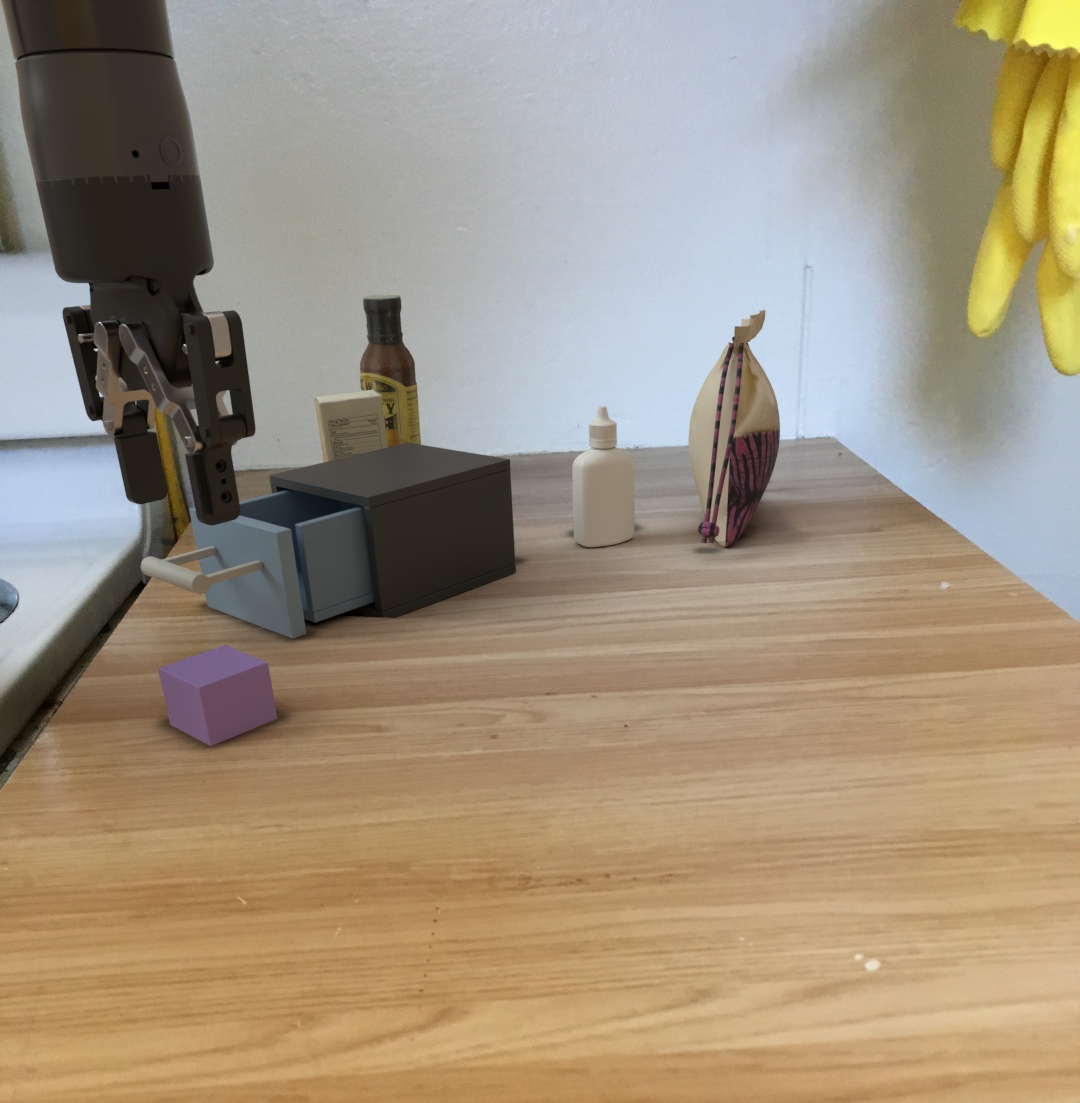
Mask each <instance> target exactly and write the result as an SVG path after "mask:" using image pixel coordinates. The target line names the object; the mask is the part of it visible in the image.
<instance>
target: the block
mask: <svg viewBox="0 0 1080 1103" xmlns="http://www.w3.org/2000/svg"><path fill="white" fill-rule="evenodd" d="M157 670H158V675H159V679H160V685H161V688H162V694H163V697H164V703H165V707H166V712H167V717H168V721H169V725H170V726H171V727H174V728H175V729H178V730H179V731H181V732H183V733H185V734H187V735H189V736H190V737H192V738H194V739H196V740H198V741H200V742H202V743H204V744H205V745H207V746H210V747H211V746H214V745H217V744H219V743H222V742H224V741H228V740H230V739H232V738H234V737H236V736H238V735H241V734H243V733H247V732H249V731H252V730H254V729H255V728H258V727H260V726H261V727H262V726H264V725H266V724H267V723H270V722H273V721H276V720H278V714H277V708H276V703H275V702H276V701H275V696H274V691H273V684H272V679H271V671H270V666H269V663H268V661H265V660H264V659H261V658H259V657H256V656H254V655H252V654H249V653H246V652H244V651H241V650H239V649H237V648H234V647H232V646H229V645H228V644H224V645H221V646H218V647H215V648H212V649H210V650H207V651H204V652H200V653H198V654H194V655H192V656H188V657H186V658H183V659H181V660H177V661H175V662H171V663H169V664H165V665H164V666H160V667H157Z"/></svg>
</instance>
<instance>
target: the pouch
mask: <svg viewBox="0 0 1080 1103" xmlns="http://www.w3.org/2000/svg"><path fill="white" fill-rule="evenodd" d="M766 313H767V312H766V309H762V310H759V313H757V314H756V313H755V314H750V315H749V318H741V324H740V326H739V325H736V326H735V325H734V333H733V335H734V336H732V337H731V341H732V342H730V341H729V342H728V343H727V344H726V346H725V347H724V348H723V350H722V352H721V354H720V356H719V358H718V359H717V361H716V362H715V363H714V365H713V366H712V368H711V370H710V371H709V373H708V374H707V376H706V378H705V379H704V381H703V383H702V385H701V387H700V389H699V391H698V393H697V396H696V398H695V401H694V403H693V407H692V410H691V414H690V419H689V427H688V454H689V455H688V456H689V462H690V464H689V465H690V469H691V473H692V474H691V475H692V479H693V482H694V484H695V485H694V486H695V489H696V490H695V491H696V493H697V496H698V500H699V503H700V506H701V509H702V511H703V514H704V521H702V522H700V523H699V524H698V528H697V532H698V533H699V535H701V536H702V537H701V544H712V545H713V544H715V542H717V544H718V545H719V546H721V547H724V548H726V547H730V546H732V545H733V544H735V543H736V542H737V541H738V540H739V538H740V537H741V535H742V534H743V533H744V532H745V529H746V528H747V526H748V524H749V522H750V521H751V519H752V517H753V515H754V513H755V512H756V510H757V508H758V506H759V504H760V502H761V501H762V498H763V496H764V494H765V492H766V489H767V488H768V485H769V483H770V480H771V478H772V476H773V472H774V469H775V466H776V463H777V458H778V454H779V448H780V440H781V422H780V420H781V419H780V411H779V406H778V404H779V403H778V400H777V396H776V393H775V391H774V388H773V386H772V384H771V381H770V379H769V377H768V376H767V374H766V371H765V370H764V368H763V367H762V365H761V364H760V362H759V361H758V359H757V357H756V356H755V355H754V353H753V351H752V349H751V348H750V345H749V343H750V342H751V341H752V340H753V339H755V338H756V337H757V336H758V334H759V333H760V332H761V331H762V330H763V326H764V323H765V320H766Z"/></svg>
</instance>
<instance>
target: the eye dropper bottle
mask: <svg viewBox="0 0 1080 1103" xmlns="http://www.w3.org/2000/svg"><path fill="white" fill-rule="evenodd" d="M597 407H598V408H597V411H596V412H597V413H596V417H595V419H594V420H592V421H590V422H589V423H588V446H589V449H587V450H585V451H583V452H582V453H580V454H579V455H578V456H576V458H575V459H574V460H573V462H572V466H571V471H572V472H571V475H572V476H571V478H572V479H571V481H572V482H571V483H572V485H571V486H572V516H573V517H572V520H573V521H572V522H573V523H572V524H573V526H572V527H573V540H574V542H575V543H576V544H578V545H580V546H583V547H585V548H599V547H600V548H602V547H608V546H613V545H618V544H621V543H624V542H627V541H629V540H631V539H633V538H634V536H635V533H636V532H635V531H636V530H635V522H636V521H635V518H636V517H635V515H636V514H635V512H636V511H635V510H636V508H635V460H634V457H633V455H632V453H630V452H629V451H627V450H625V449H623V448H619V447H616V446H618V445H617V444H618V438H617V437H618V434H617V433H618V432H617V428H618V427H617V425H618V424H617V422H616V421H614V420H613V419H611V418H610V417H609V412H608V407H607V406H606V405H599V406H597Z"/></svg>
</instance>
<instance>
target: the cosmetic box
mask: <svg viewBox="0 0 1080 1103" xmlns="http://www.w3.org/2000/svg"><path fill="white" fill-rule="evenodd" d="M313 400H314V401H313V402H314V406H315V413H316V419H317V427H318V432H319V439H320V445H321V446H320V447H321V452H322V458H323V459H322V460H323V463H324V462H328V461H332V460H336V459H341V458H345V457H349V456H353V455H358V454H362V453H366V452H371V451H375V450H379V449H383V448H388V443H387V435H386V428H385V420H384V412H383V404H382V397H381V395H380V394H379V393H378V392H376V391H374V390H367V391H361V390H359V391H353V392H344V393H343V392H342V393H335V394H327V395H316V396H313Z"/></svg>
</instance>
